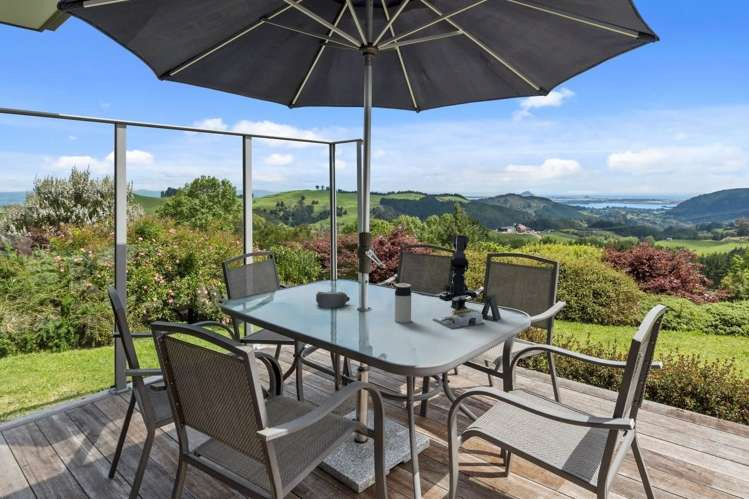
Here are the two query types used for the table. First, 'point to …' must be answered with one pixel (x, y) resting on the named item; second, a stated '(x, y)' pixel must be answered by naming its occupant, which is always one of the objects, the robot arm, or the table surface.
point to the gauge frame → (461, 320)
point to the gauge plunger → (458, 313)
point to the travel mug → (403, 303)
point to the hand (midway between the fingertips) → (457, 312)
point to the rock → (331, 299)
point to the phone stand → (494, 308)
